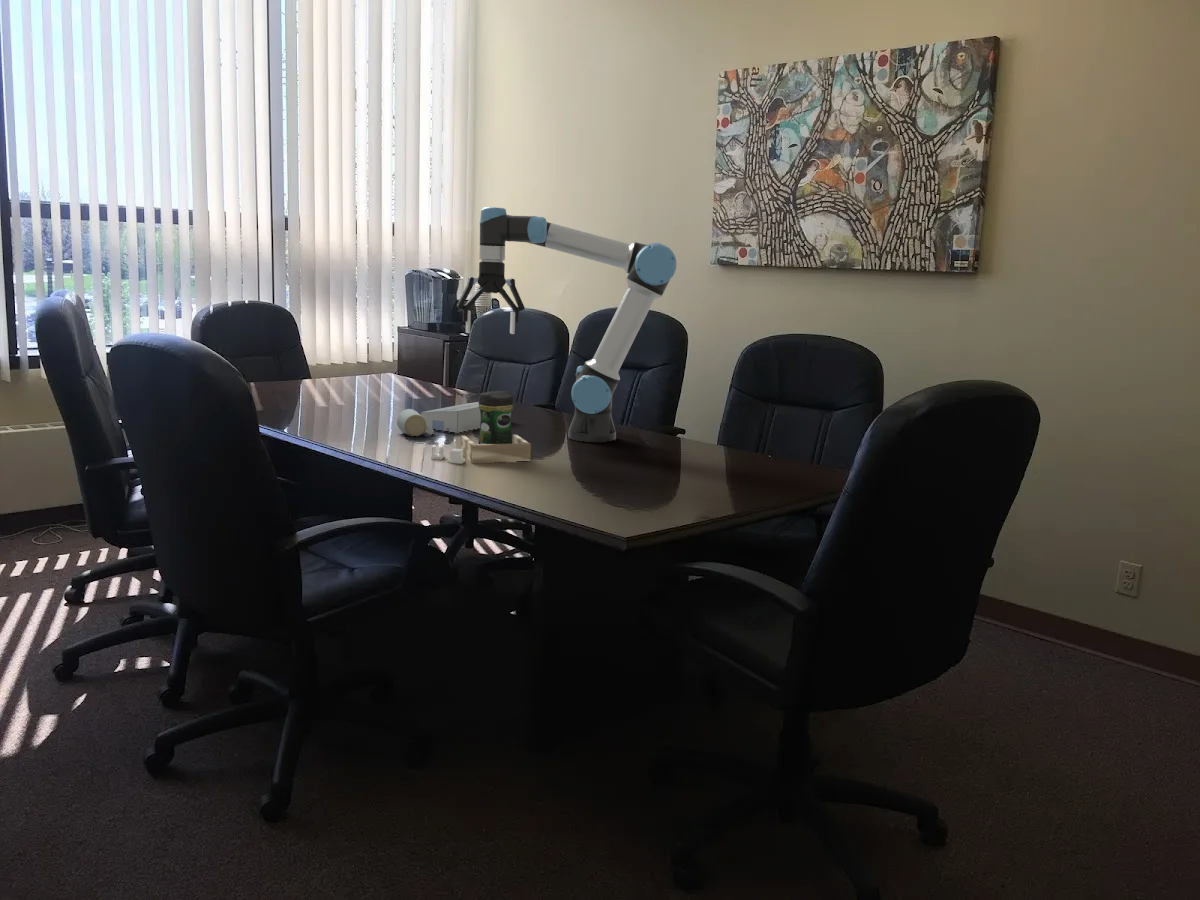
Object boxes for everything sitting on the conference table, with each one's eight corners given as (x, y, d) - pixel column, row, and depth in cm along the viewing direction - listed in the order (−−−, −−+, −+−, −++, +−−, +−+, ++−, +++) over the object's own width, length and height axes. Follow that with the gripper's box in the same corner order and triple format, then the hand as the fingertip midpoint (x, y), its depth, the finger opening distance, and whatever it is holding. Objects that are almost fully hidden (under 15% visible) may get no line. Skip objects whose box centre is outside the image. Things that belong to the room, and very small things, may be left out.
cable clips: (437, 455, 269) (437, 443, 269) (470, 462, 263) (470, 449, 262) (425, 458, 265) (425, 446, 265) (458, 464, 259) (458, 452, 258)
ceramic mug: (404, 438, 293) (405, 413, 292) (396, 433, 300) (396, 408, 299) (437, 437, 298) (438, 412, 297) (428, 432, 305) (429, 408, 304)
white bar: (474, 418, 338) (474, 396, 336) (508, 423, 331) (509, 401, 330) (420, 429, 311) (421, 406, 310) (457, 434, 305) (457, 411, 304)
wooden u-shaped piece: (460, 452, 275) (460, 435, 274) (516, 451, 281) (516, 434, 280) (472, 463, 261) (472, 445, 260) (530, 461, 267) (530, 444, 266)
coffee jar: (499, 452, 278) (501, 388, 275) (517, 457, 273) (519, 392, 269) (472, 456, 271) (473, 390, 268) (489, 460, 266) (491, 394, 262)
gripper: (529, 262, 293) (526, 333, 297) (447, 259, 284) (446, 331, 288) (536, 263, 286) (533, 335, 290) (452, 259, 277) (451, 333, 281)
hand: (490, 333), depth 289 cm, fingers open, 13 cm apart
